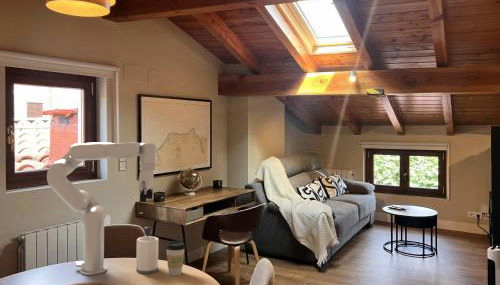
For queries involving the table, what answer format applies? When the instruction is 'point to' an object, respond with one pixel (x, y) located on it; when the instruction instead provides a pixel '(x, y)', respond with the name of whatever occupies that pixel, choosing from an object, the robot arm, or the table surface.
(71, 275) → the table surface
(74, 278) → the table surface
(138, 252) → the coffee press
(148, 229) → the plunger
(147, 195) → the robot arm
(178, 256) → the coffee cup
